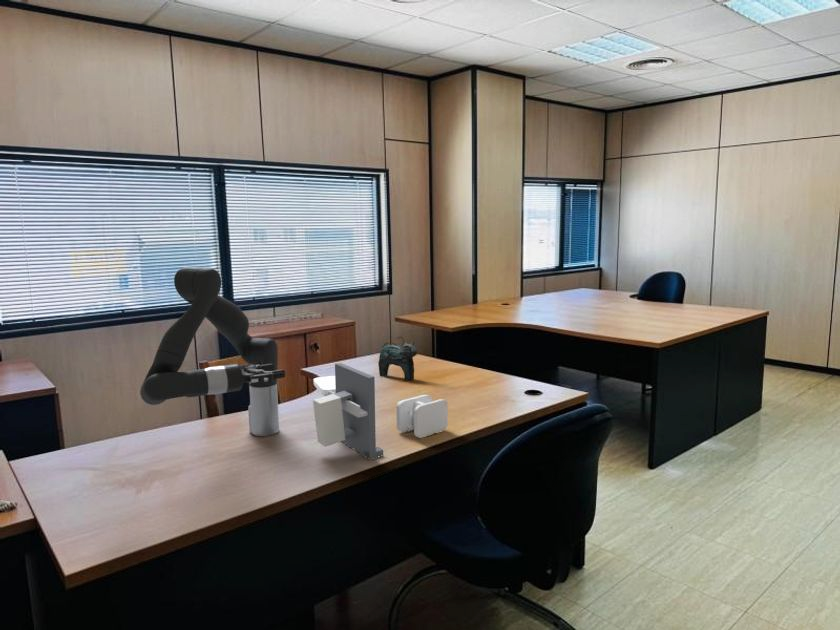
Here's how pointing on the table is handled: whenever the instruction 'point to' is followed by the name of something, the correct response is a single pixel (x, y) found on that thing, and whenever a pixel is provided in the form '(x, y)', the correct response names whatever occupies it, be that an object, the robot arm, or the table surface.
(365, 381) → the wall board
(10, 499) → the table surface
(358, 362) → the table surface
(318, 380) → the mac mini
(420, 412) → the cable organizer
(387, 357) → the ceramic cat
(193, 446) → the table surface
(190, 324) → the robot arm
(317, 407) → the white block
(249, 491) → the table surface
